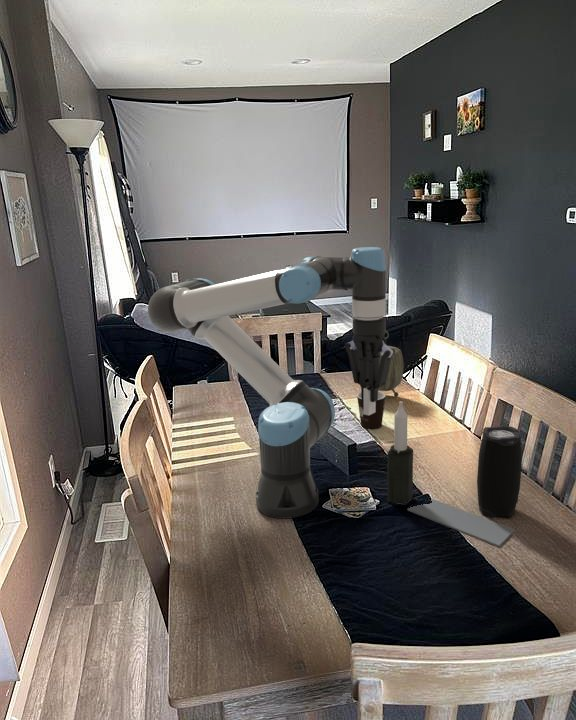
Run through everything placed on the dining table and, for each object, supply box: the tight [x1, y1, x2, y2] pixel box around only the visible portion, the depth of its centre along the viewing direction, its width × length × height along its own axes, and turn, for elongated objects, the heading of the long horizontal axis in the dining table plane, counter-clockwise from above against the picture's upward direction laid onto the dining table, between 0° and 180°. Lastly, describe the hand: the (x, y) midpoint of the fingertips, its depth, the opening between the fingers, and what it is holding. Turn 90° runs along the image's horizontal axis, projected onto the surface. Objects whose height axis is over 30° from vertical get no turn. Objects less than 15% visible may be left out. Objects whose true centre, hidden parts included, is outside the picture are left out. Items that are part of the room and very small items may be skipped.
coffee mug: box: [356, 391, 386, 431], centre depth 183 cm, size 12×9×10 cm
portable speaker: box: [476, 424, 523, 519], centre depth 131 cm, size 9×9×20 cm
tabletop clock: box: [378, 330, 404, 397], centre depth 204 cm, size 14×9×25 cm, turn 58°
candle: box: [387, 400, 414, 504], centre depth 136 cm, size 5×5×25 cm
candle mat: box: [407, 498, 516, 548], centre depth 130 cm, size 8×22×1 cm, turn 46°
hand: (369, 413), depth 140 cm, fingers closed
